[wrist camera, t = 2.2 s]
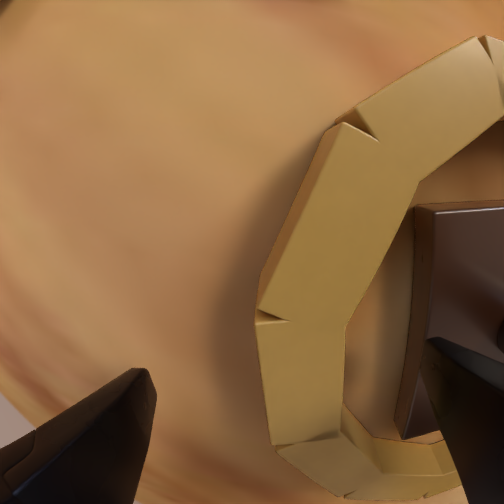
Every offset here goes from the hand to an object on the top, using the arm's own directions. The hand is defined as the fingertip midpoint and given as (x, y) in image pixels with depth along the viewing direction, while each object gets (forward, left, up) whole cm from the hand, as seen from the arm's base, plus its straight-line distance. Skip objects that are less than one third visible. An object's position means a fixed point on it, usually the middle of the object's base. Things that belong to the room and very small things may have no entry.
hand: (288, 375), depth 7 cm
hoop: (0, -8, -2) cm, 8 cm away
